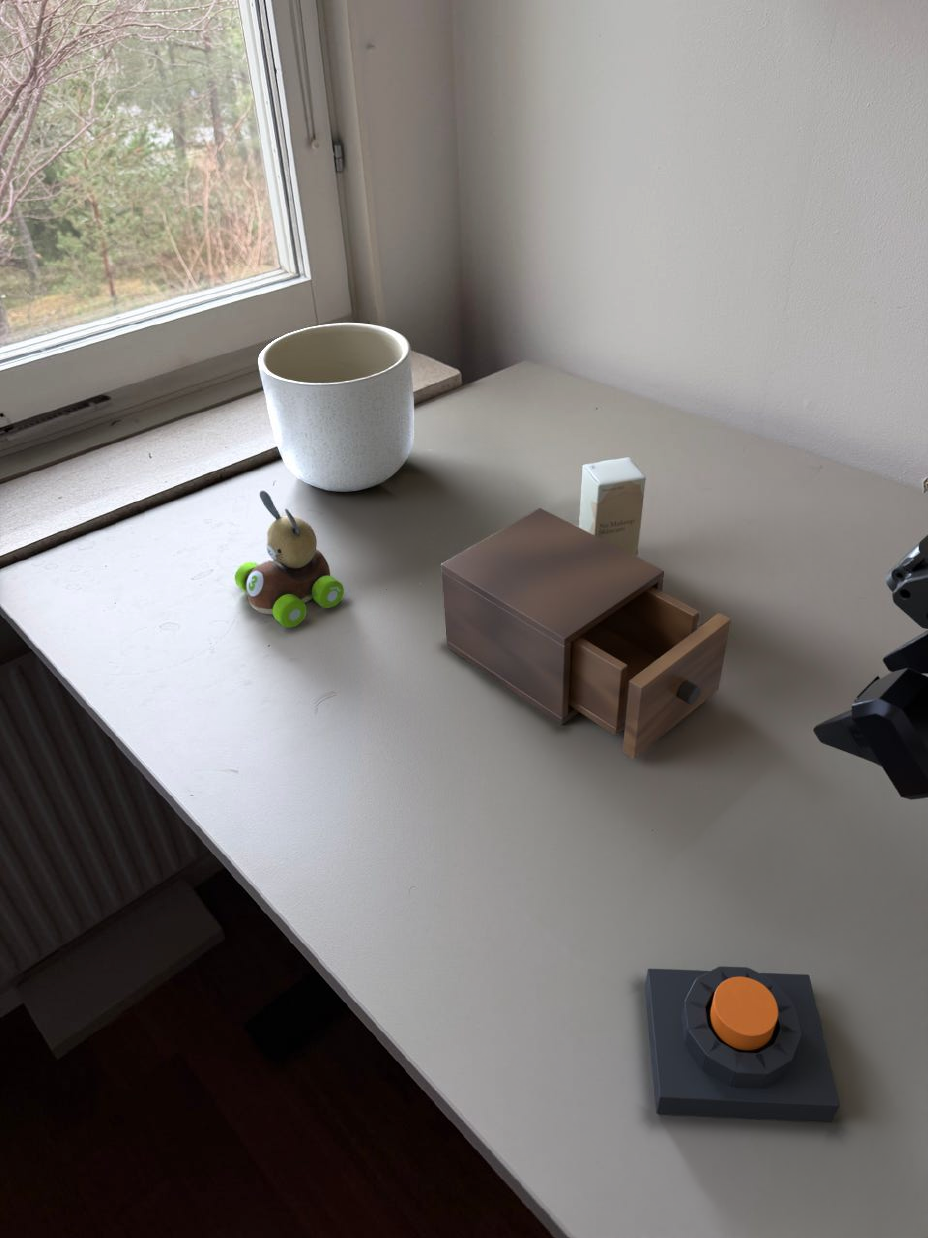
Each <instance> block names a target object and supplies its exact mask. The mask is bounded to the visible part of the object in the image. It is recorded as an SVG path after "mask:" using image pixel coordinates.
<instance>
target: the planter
mask: <svg viewBox="0 0 928 1238" xmlns="http://www.w3.org/2000/svg"><path fill="white" fill-rule="evenodd" d="M257 364H258V370H259V374H260V375H259V376H260V380H261V384H262V389H263V394H264V398H265V403H266V406H267V412H268V416H269V420H270V424H271V428H272V433H273V436H274V437H273V438H274V440H275V443H276V446H277V448H278V452H279V455H280V457H281V459H282V460H283V463H284V465H285V466H286V468H288V470H289V471H290V472H291V473H292V474H293V475H294V476H295V477H297V478H298V479H300V480H301V481H303V482H304V483H306V484H309V485H310V486H311V487H312V486H313V487H314V488H318V489H321V490H325V491H330V492H338V493H339V492H340V493H347V492H349V493H350V492H356V491H357V492H358V491H362V490H366V489H369V488H373V487H375V486H377V485H379V484H381V483H383V482H385V481H387V480H388V479H390V478H391V477H392V476H393V475H394V474H396V473H398V471H399V470H400V469H401V468H402V466H404V464H405V463H406V462H407V459H408V458H409V456H410V454H411V452H412V449H413V443H414V436H415V435H414V434H415V402H414V401H415V397H414V382H413V381H414V378H413V360H412V348H411V344H410V342H409V341H408V339H407V338H406V337H405V336H404V335H403V334H402V333H400V332H398V331H396V330H394V329H391V328H388V327H385V326H381V325H376V324H368V323H359V322H357V323H356V322H343V323H341V322H340V323H328V324H321V325H316V326H310V327H306V328H302V329H299V330H295V331H292V332H290V333H287V334H284V335H283V336H281V337H279V338H276V339H274V340H273V341H272V342H271V343H270V342H269V344H268V345H266V347H264V349H263V350H262V351H261V352H260V354H259V356H258V360H257Z"/></svg>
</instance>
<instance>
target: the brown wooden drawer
mask: <svg viewBox="0 0 928 1238" xmlns="http://www.w3.org/2000/svg"><path fill="white" fill-rule="evenodd" d="M699 620H700V611H699V610H697V609H695V608H694V607H692V606H690V605H687V604H685V603H684V602H682V601H680V600H679V599H676V598H674V597H672V596H671V595H668V594H667V593H665V592H663V591H662V592H661V591H659V590H657V589H655V588H653V587H650V588H649V589H647V590H646V591H644V592H643V593H641V594H640V595H638V596H637V597H636V598H634V599H633V600H631V601H630V602H628V603H627V604H625V605H624V606H623V607H621V608H620V609H618V610H617V611H615V612H614V613H612V614H611V615H609V616H608V617H607V618H605V619H604V620H602V621H601V622H599V623H598V624H596V625H595V626H594V627H592V628H591V629H589V630H588V631H586V632H585V633H583V634H582V635H580V636H579V637H578V638H576V639H575V640H573V641H572V642H571V653H570V678H569V703H568V705H570V706H571V707H573V708H574V709H576V710H577V711H579V713H581V714H582V715H583V716H585V717H587V719H590V720H591V721H592V722H594V723H595V724H597V725H598V726H600V727H602V728H603V729H604V730H606V731H607V732H609V733H610V734H612V735H614V736H618V735H619V734H620V733H621V732H622V731H624V733H623V743H622V752H623V753H624V754H626V755H627V756H628V757H630V758H631V759H633V760H635V759H637V758H638V757H639V756H640V755H641V754H642V753H644V752H645V751H646V750H647V749H649V747H651V746H652V745H653V744H655V743H656V742H657V741H658V740H660V739H661V738H662V737H663V736H664V735H665V734H667V733H668V732H669V731H670V730H671V729H673V728H674V727H675V726H676V725H678V723H680V722H682V720H684V719H685V718H686V717H687V716H688V715H690V714H691V713H692V712H694V711H695V709H697V708H698V707H700V706H701V705H702V704H703V703H704V702H705V701H707V700H708V699H709V698H710V697H711V696H712V695H714V694H715V693H716V692H717V691H719V688H720V683H721V678H722V673H723V672H722V671H723V666H724V662H725V661H724V660H725V656H726V650H727V643H728V639H729V638H728V637H729V633H730V626H731V621H732V619H731V618H729V617H727V616H725V615H724V614H721V613H719V612H718V613H717V614H716V615H714V616H713V617H712V618H710V619H709V620H707V621H706V622H705V623H703V624H702V625H701V626H699V627H698V625H699Z"/></svg>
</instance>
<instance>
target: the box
mask: <svg viewBox="0 0 928 1238" xmlns="http://www.w3.org/2000/svg"><path fill="white" fill-rule="evenodd" d="M581 472H582V473H581V475H582V476H581V485H580V486H581V488H580V502H579V503H580V504H579V519H578V527H579V528H581V529H583V530H585V531H587V532H589V533H591V534H593V535H595V536H597V537H599V538H601V539H603V540H605V541H607V542H609V543H611V544H613V545H615V546H616V547H618V548H620V549H622V550H624V551H626V552H628V553H630V554H632V555H634V556H636V557H638V551H639V541H640V534H641V525H642V516H643V507H644V506H643V505H644V498H645V489H646V478H647V477H646V476H645V474H644V473H643V471H642V470H641V469H640V468H639V467H638V466H637V464H636V463H635V462H634V461H633V459H632V458H631V457H628V456H627V457H621V458H615V459H606V460H602V461H597V462H591V463H586V464H585V463H584V464H583V465H582V470H581Z"/></svg>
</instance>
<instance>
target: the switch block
mask: <svg viewBox="0 0 928 1238" xmlns="http://www.w3.org/2000/svg"><path fill="white" fill-rule="evenodd" d="M733 977H747V978H751V979H753V980H756V981H758V982H759V983H761V984H762V985H764V986H765V987H766V988H767V989H768V990H769V991H770V992H771V993H772V995H773V996H774V998H775V1000H776V1003H777V1006H778V1019H777V1022H776V1025H775V1028H774V1031H773V1034H772V1037H771V1039H770V1040H769V1042H768V1043H767V1044H766V1045H764V1046H763V1047H761V1048H759V1049H756V1050H748V1051H747V1050H740V1049H737V1048H734V1047H732V1046H730V1045H728V1044H727V1043H725V1042H724V1041H723V1040H722V1039H721V1038H720V1037H719V1036H718V1035H717V1033H716V1032H715V1030H714V1028H713V1026H712V1023H711V1019H710V1011H711V1007H712V1003H713V999H714V994H715V991H716V989H717V988H718V986H719V985H720V984H721V983H722V982H723V981H725V980H727V979H729V978H733ZM811 981H812V980H811V977H810V975H809V974H808V973H807V974H806V973H805V974H804V973H777V972H758V971H756V970H754V969H752V968H750V967H747V966H745V967H744V966H720V965H719V966H717V967H715V968H713V969H712V970H702V969H701V970H700V969H697V970H695V969H675V968H673V969H671V968H647V971H646V976H645V984H644V991H645V992H644V993H645V1001H646V1002H645V1004H646V1015H647V1025H648V1035H649V1036H648V1037H649V1048H650V1049H649V1050H650V1057H651V1058H650V1059H651V1060H650V1061H651V1070H652V1071H651V1072H652V1079H653V1080H652V1081H653V1091H654V1103H655V1113H656V1114H657V1115H665V1116H666V1115H667V1116H668V1115H670V1116H688V1117H708V1118H709V1117H710V1118H726V1119H727V1118H728V1119H747V1120H749V1119H750V1120H769V1121H787V1122H788V1121H790V1122H807V1123H810V1122H811V1123H826V1124H827V1123H828V1124H829V1123H830V1124H832V1123H833V1122H834V1120H835V1118H836V1115H837V1114H838V1112H839V1110H840V1107H841V1103H840V1099H839V1095H838V1090H837V1087H836V1081H835V1079H834V1074H833V1070H832V1065H831V1061H830V1057H829V1052H828V1049H827V1044H826V1040H825V1037H824V1032H823V1028H822V1023H821V1020H820V1014H819V1011H818V1006H817V1002H816V999H815V998H816V997H815V994H814V989H813V985H812V982H811Z"/></svg>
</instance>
